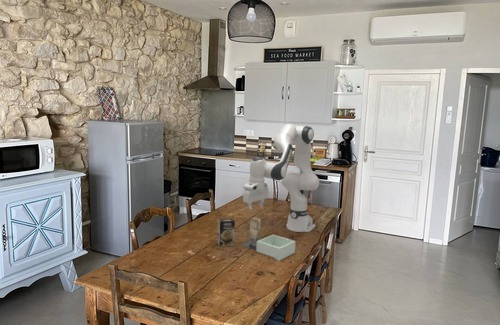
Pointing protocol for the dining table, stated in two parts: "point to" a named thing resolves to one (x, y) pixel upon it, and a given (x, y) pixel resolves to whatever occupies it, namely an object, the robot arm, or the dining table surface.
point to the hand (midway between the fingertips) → (255, 207)
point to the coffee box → (226, 232)
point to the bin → (276, 247)
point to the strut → (254, 231)
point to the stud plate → (248, 246)
